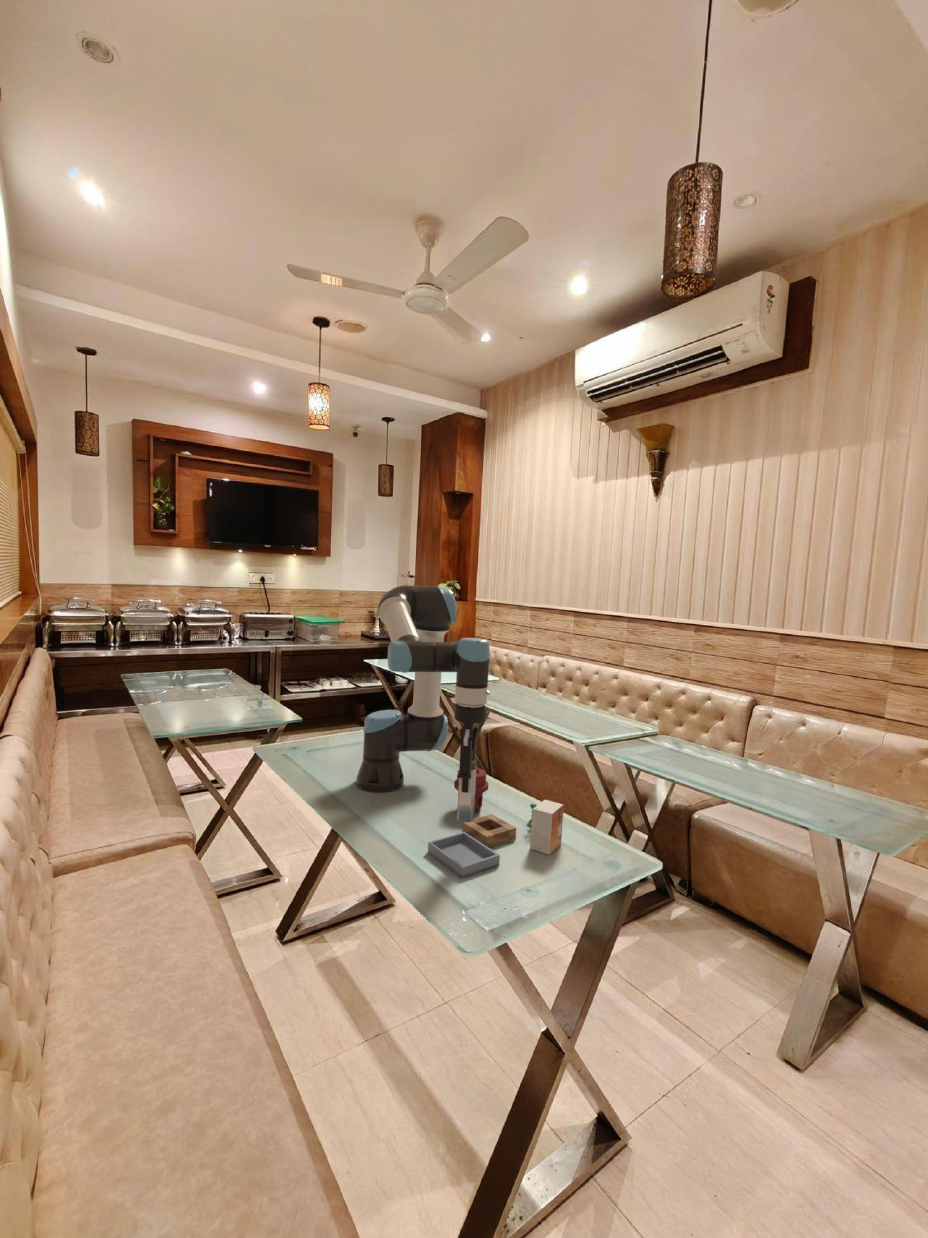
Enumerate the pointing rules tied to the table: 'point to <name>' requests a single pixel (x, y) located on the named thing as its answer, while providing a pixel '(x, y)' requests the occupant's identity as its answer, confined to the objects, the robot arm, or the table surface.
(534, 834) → the small box
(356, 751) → the table surface
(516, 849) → the table surface
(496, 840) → the socket
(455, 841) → the tray
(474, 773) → the pin
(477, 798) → the mechanical component
